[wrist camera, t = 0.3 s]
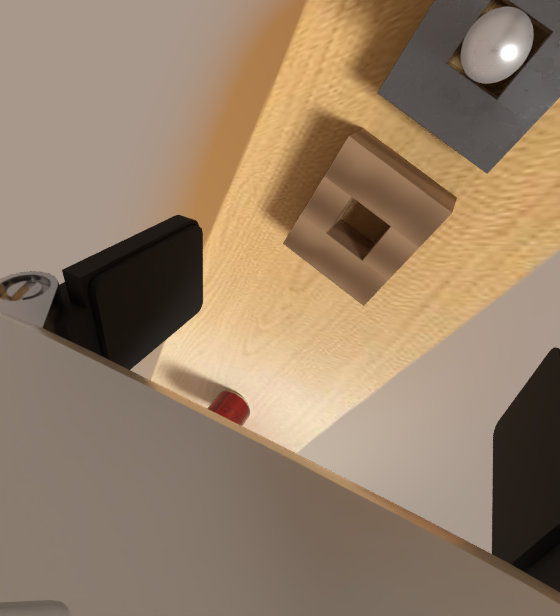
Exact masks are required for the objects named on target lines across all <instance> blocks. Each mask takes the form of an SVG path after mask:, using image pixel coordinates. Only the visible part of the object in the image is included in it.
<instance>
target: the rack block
mask: <svg viewBox="0 0 560 616" xmlns="http://www.w3.org/2000/svg"><path fill="white" fill-rule="evenodd" d="M354 199H355V200H357V201H358V202H359V203H361V204H362V205H363V206H364V207H366V208H367V209H368V210H370V211H371V212H372V213H374V214H375V215H376V216H378V217H379V218H380V219H382V220H383V221H384V222H386V223H387V224H388V225H389V226H388V227H387V229H386V230H385V231H384V232H383V233H382V235H381V236H380V237H379V238H378V239H377V241H376V242H375V243H374V244H373V243H372V242H370V241H369V240H368V239H367V238H365V237H364V236H363V235H361V234H360V233H359V232H357V231H356V230H355V229H353V228H352V227H351V226H349V225H348V224H347V223H346V222H344V221H343V220H342V219H341V217H342V216H343V214H344V213H345V212H346V210H347V209H348V207H349V206H350V205H351V203H352V202H353V200H354ZM456 199H457V198H456V197H455V196H454V195H452V194H451V193H450V192H448V191H447V190H446V189H444V188H443V187H442V186H440V185H439V184H438V183H436V182H435V181H434V180H432V179H431V178H430V177H428V176H427V175H425V174H424V173H423V172H421V171H420V170H419V169H417V168H416V167H415V166H413V165H412V164H411V163H409V162H408V161H407V160H405V159H404V158H403V157H401V156H400V155H399V154H397V153H396V152H395V151H393V150H392V149H391V148H389V147H388V146H387V145H385V144H384V143H382V142H381V141H380V140H378V139H377V138H376V137H374V136H373V135H372V134H370V133H369V132H368V131H366V130H365V129H364V128H363V129H361V130H359V131H357V132H355V133H353V134H352V135H350V136H349V137H348V138H347V140H346V141H345V143H344V145H343V146H342V148H341V150H340V151H339V153H338V154H337V156H336V158H335V159H334V161H333V163H332V164H331V166H330V168H329V169H328V171H327V172H326V174H325V176H324V177H323V179H322V181H321V182H320V184H319V186H318V187H317V189H316V190H315V192H314V194H313V195H312V197H311V199H310V200H309V202H308V203H307V205H306V207H305V208H304V210H303V212H302V213H301V215H300V217H299V218H298V220H297V221H296V223H295V225H294V226H293V228H292V230H291V231H290V233H289V234H288V236H287V238H286V239H285V241H284V243H283V244H284V245H286V246H287V247H288V248H290V249H291V250H292V251H293V252H295V253H296V254H297V255H299V256H300V257H301V258H302V259H304V260H305V261H306V262H308V263H309V264H310V265H312V266H313V267H314V268H315V269H317V270H318V271H319V272H321V273H322V274H323V275H324V276H326V277H327V278H328V279H330V280H331V281H332V282H334V283H335V284H336V285H337V286H339V287H340V288H341V289H343V290H344V291H345V292H346V293H348V294H349V295H350V296H352V297H353V298H354V299H356V300H357V301H358V302H359V303H361V304H362V305H363V306H364V305H365V304H366V303H367V302H368V301H369V300H370V299H371V298H372V297H373V296H374V295H375V293H376V292H377V291H378V290H379V289H380V288H381V287H382V286H383V285H384V284H385V283H386V282H387V281H388V280H389V279H390V278H391V277H392V276H393V275H394V273H395V272H396V271H397V270H398V269H399V268H400V267H401V266H402V265H403V264H404V263H405V262H406V261H407V260H408V259H409V258H410V257H411V256H412V255H413V254H414V252H415V251H416V250H417V249H418V248H419V247H420V246H421V245H422V244H423V243H424V242H425V241H426V240H427V239H428V238H429V237H430V236H431V235H432V234H433V232H434V231H435V230H436V229H437V228H438V227H439V226H440V225H441V224H442V223H443V222H444V221H445V220H446V219H447V218H448V217H449V216H450V215H451V214H452V212H453V208H454V205H455V202H456Z"/></svg>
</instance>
